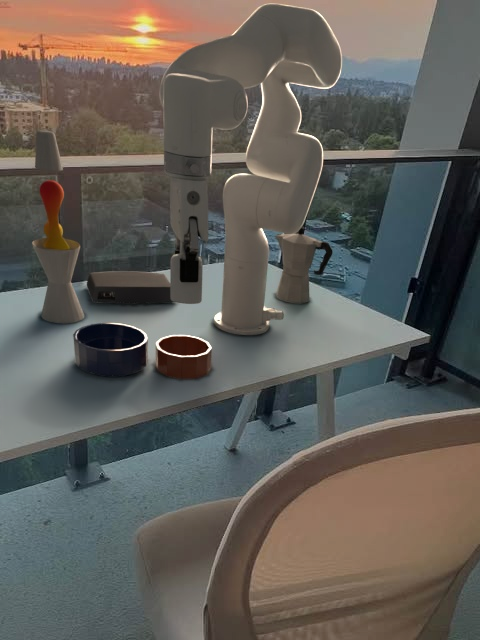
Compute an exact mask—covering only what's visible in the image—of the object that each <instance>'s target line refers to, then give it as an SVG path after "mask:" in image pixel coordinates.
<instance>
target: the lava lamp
mask: <svg viewBox="0 0 480 640" xmlns="http://www.w3.org/2000/svg"><path fill="white" fill-rule="evenodd" d="M34 168H35V169H37V170H41V171H47V172H61V171H64V168H63V163H62V159H61V155H60V150H59V146H58V142H57V137H56V134H55V132H54V131H51V130H46V129H41V130H40V129H39V130H37V131H36V137H35V160H34ZM39 195H40V197H41V200H42V203H43V207H44V209H45V212H46V218H47V222H46V223H44V225H43V233H44V235H45V237H42V238H37V239H34V240H32V242H31V245H32V247H33V250H34V252H35V254H36V256H37V258H38V260H39V263H40V265H41V267H42V270H43V271H44V273H45V275H46V277H47V280H48V282H47V287H46V292H45V297H44V300H43V306H42V310H41V314H40V315H41V318H42V319H43V320H44V321H47V322H50V323H54V324H73V323H78V322H81V321H82V320H83V319H84V318H85V317H86V316H85V313H84V311H83V308H82V305H81V304H80V301H79V299H78V296H77V293H76V291H75V288H74V286H73V284H72V278H73V275H74V270H75V267H76V264H77V260H78V256H79V253H80V250H81V244H80V243H79V242H77V241H75V240H72V239H68V238H64V237H63V233H64V229H63V226H62V225H61V224H60V223H59V214H60V209H61V206H62V203H63V200H64V198H65V191H64V189H63V187H62V185H61V184H60V183H59V182H57V181H55V180H53V179H52V180H51V179H48V180H44V181H43V182H42V183H41V184H40V186H39Z"/></svg>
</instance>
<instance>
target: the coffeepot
mask: <svg viewBox="0 0 480 640" xmlns="http://www.w3.org/2000/svg"><path fill="white" fill-rule="evenodd" d="M304 231H305V227H304V226H302V227H301V229H300V230H299V231H298V232H297V233H294V234H286V233H278V234H276V235H274V238H275V239H276V240H277V242H278V245H279V247H280V249H281V252H282V265H283V267H282V271H281V274H280V278H279V281H278V282H279V283H278V285H277V288H276V289H277V290H276V298H277V299H278V300H280V301H282V302H285V303H289V304H296V305H297V304H299V305H300V304H306V303H308V302H310V299H311V298H310V273H309V272H310V269H311V268H312V265H313V261H314V257H315V254H316V250H324V251H325V253H324V255H323V258H322V261H321V263H320V264H319V268H318V270H313V273H314V275H317V276H321V275H323V273H324V271H325V269H326V267H327V265H328V264H329V262H330V260H331V258H332V256H333V249H332V247H331V245H330V243H329V242H327V241H323V240H318V239H316V238H314V237H312V236H309V235H306V234H304Z"/></svg>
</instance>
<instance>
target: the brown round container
mask: <svg viewBox="0 0 480 640" xmlns="http://www.w3.org/2000/svg"><path fill="white" fill-rule="evenodd" d="M154 346H155V367H156V370H157V372H159V373H161V374H163V375H164V376H166V377H169V378H174V379H179V380H193V379H195V380H196V379H198V378H202V377H205V376H207V375H208V374H209V373H210V372H211V370H212V351H213V350H212V349H213V348H212V346H211V344H210V342H208V341H207V340H204V339H203V338H200V337H199V336H193V335H187V334H172V335H168V336H167V335H166V336H164V337H163V336H162V337H160V338H159V339H158V340H157V341H156V342H155V345H154Z"/></svg>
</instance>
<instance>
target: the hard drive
mask: <svg viewBox="0 0 480 640" xmlns="http://www.w3.org/2000/svg"><path fill="white" fill-rule="evenodd" d="M86 288H87V291H88V293H89V296H90V300H91V302H92V303H97V304H163V303H164V304H165V303H167V304H169V303H174V302H173V301H172V300H171V297H170V281H169V279H168V277H167V276H166V274H164V273H160V272H151V271H150V272H149V271H134V270H133V271H132V270H129V271H128V270H113V271H96V272H90V273H89V274H88V277H87V280H86Z"/></svg>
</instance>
